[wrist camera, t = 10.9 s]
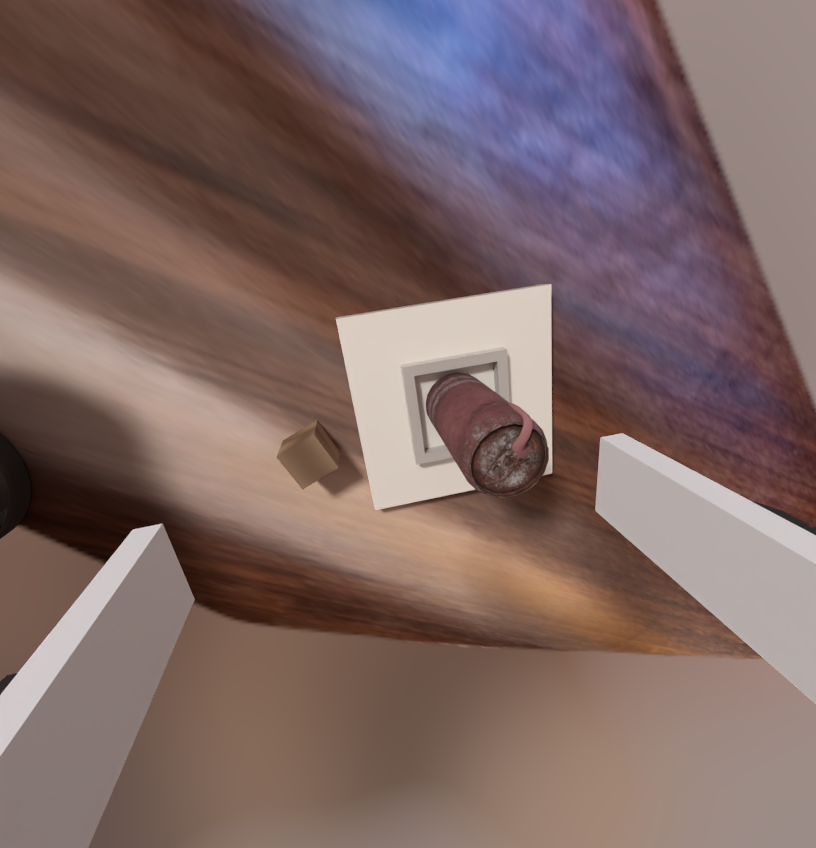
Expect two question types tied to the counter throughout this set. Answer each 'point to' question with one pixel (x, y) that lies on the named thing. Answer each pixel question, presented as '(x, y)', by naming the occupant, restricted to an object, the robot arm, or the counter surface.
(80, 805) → the robot arm
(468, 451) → the can
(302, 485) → the walnut block
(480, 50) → the counter surface
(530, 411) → the board
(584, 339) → the counter surface
